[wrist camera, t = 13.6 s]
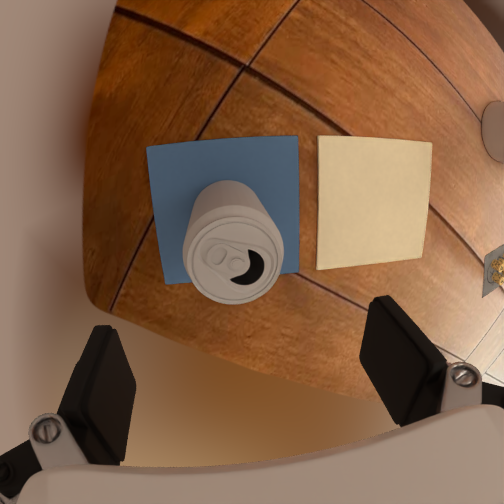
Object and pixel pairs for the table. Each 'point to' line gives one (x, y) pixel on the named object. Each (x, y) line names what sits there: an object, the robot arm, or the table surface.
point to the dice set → (493, 270)
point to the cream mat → (371, 200)
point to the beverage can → (232, 244)
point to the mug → (494, 130)
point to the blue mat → (218, 169)
